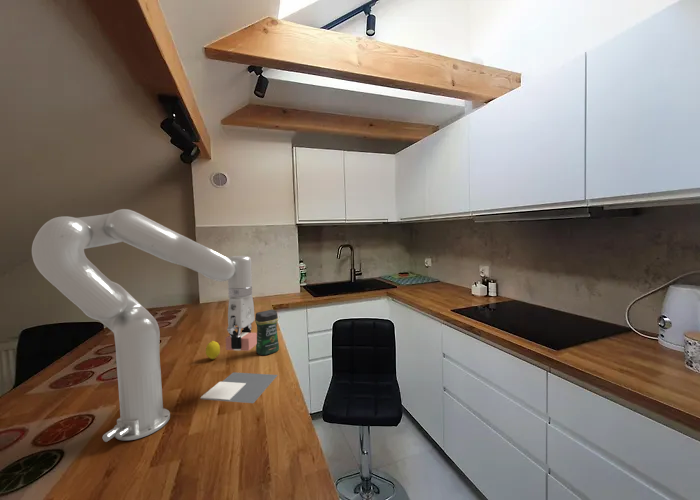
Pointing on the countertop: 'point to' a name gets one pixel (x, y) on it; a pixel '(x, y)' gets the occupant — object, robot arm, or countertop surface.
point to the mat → (249, 386)
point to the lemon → (212, 349)
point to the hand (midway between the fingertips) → (241, 344)
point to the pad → (223, 390)
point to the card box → (243, 341)
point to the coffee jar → (267, 332)
